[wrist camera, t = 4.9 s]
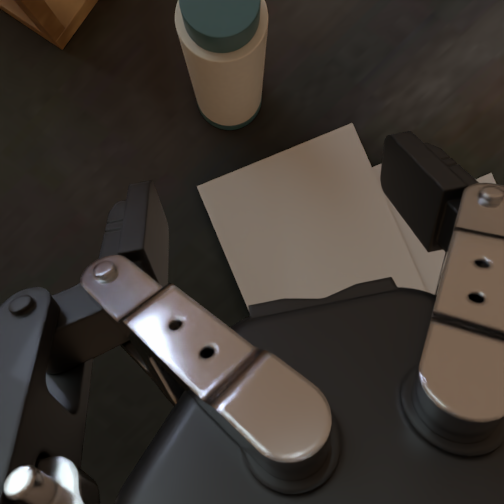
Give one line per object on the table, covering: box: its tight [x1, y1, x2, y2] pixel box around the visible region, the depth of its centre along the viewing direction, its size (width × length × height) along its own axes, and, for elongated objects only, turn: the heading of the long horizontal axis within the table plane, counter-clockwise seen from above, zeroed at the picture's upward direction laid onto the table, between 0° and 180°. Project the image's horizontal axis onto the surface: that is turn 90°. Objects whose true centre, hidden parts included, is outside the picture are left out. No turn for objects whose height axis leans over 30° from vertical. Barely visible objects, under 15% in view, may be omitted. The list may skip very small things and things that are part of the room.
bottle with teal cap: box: [175, 0, 268, 130], centre depth 26 cm, size 6×6×12 cm
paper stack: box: [197, 123, 496, 310], centre depth 31 cm, size 23×25×1 cm
